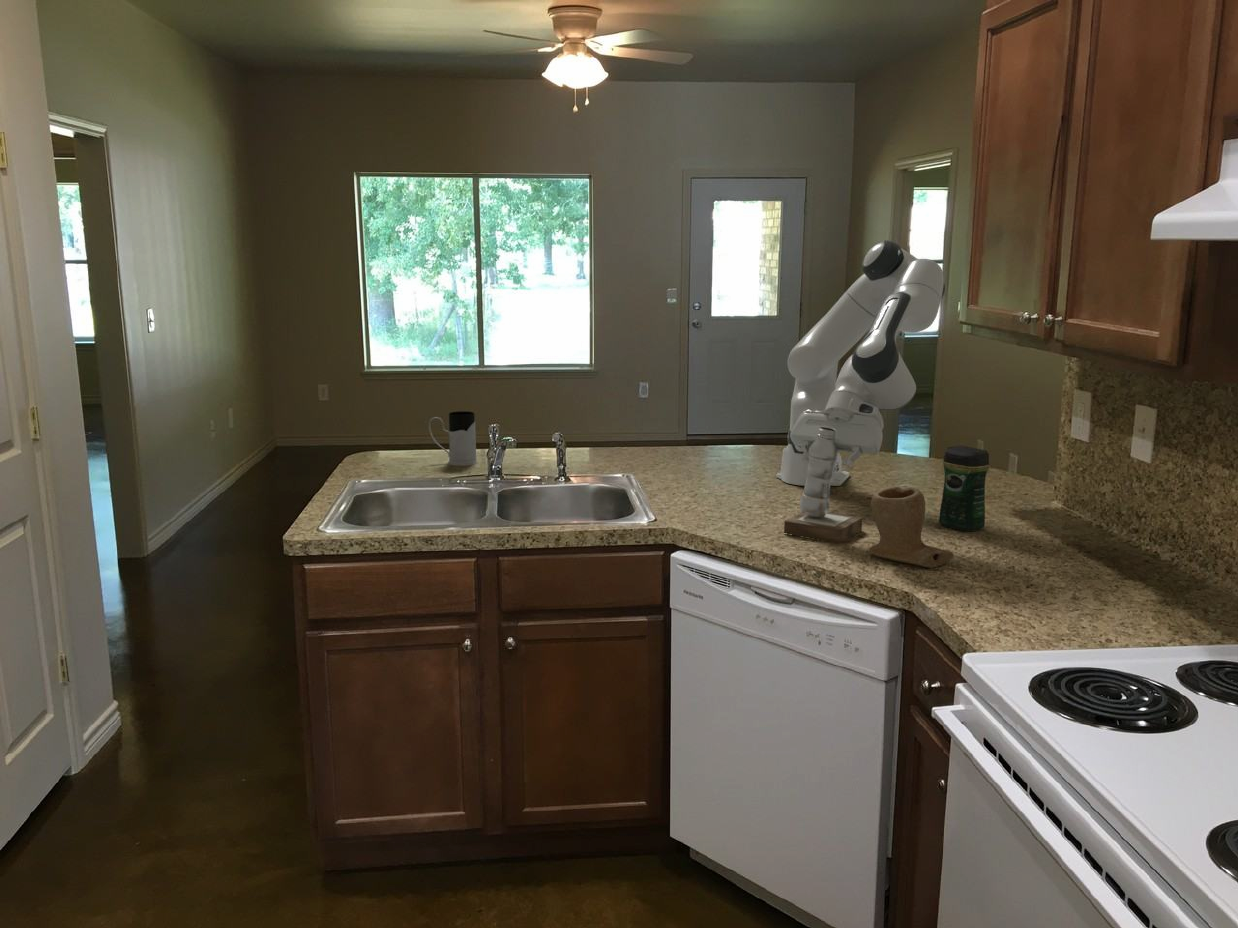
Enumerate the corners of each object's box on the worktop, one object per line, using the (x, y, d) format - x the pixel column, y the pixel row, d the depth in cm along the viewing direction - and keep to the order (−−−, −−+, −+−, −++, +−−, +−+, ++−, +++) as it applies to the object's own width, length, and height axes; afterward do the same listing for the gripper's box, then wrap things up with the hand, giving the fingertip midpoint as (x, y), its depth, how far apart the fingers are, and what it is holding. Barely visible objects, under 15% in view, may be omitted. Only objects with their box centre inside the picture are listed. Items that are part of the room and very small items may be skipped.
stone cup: (855, 558, 198) (859, 486, 195) (889, 547, 206) (894, 478, 203) (920, 576, 187) (926, 500, 184) (954, 564, 194) (960, 491, 191)
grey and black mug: (475, 465, 287) (474, 415, 284) (427, 465, 287) (425, 415, 284) (479, 460, 295) (478, 411, 292) (433, 459, 295) (431, 410, 292)
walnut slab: (807, 521, 226) (808, 508, 225) (861, 530, 219) (862, 516, 218) (784, 534, 216) (784, 520, 215) (839, 543, 208) (840, 529, 208)
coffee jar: (990, 529, 221) (997, 448, 217) (967, 534, 217) (974, 452, 213) (955, 519, 229) (961, 442, 225) (932, 524, 225) (938, 445, 221)
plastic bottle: (810, 521, 213) (825, 433, 208) (791, 511, 219) (806, 425, 214) (833, 519, 216) (849, 433, 211) (814, 510, 222) (829, 425, 217)
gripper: (798, 401, 223) (778, 449, 217) (885, 409, 212) (866, 460, 206) (805, 418, 228) (785, 465, 222) (890, 426, 216) (872, 477, 210)
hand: (825, 463), depth 214 cm, fingers open, 8 cm apart
